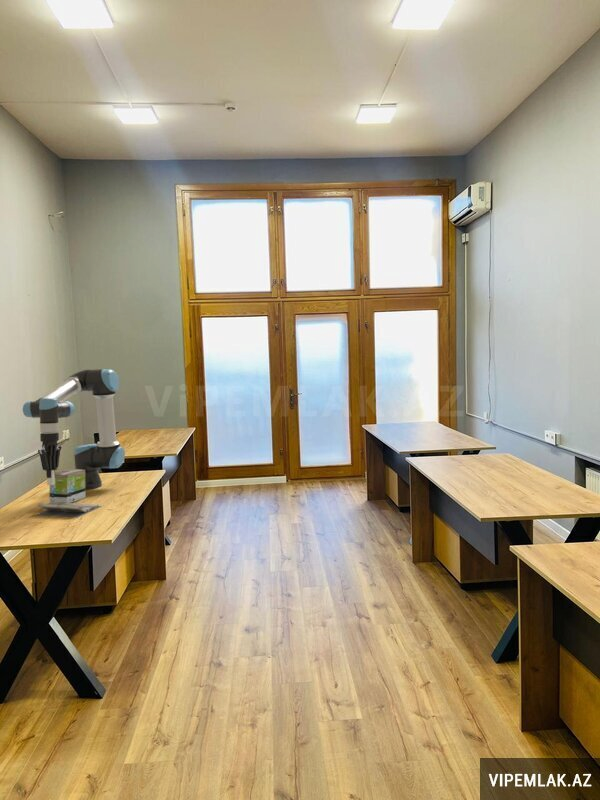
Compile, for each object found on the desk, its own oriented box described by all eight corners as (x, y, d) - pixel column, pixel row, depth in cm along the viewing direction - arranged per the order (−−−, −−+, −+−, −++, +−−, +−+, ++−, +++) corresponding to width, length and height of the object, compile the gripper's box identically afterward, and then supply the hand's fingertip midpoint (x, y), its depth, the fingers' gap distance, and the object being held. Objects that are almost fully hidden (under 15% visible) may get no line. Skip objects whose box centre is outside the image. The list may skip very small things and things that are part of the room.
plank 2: (67, 511, 242) (68, 508, 243) (86, 512, 240) (86, 509, 241) (57, 507, 235) (57, 504, 236) (76, 508, 233) (76, 505, 234)
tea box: (67, 505, 253) (66, 474, 253) (49, 504, 255) (48, 473, 255) (86, 497, 268) (85, 468, 267) (68, 497, 270) (67, 468, 269)
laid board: (61, 505, 253) (60, 502, 253) (98, 507, 249) (98, 504, 249) (49, 509, 246) (49, 507, 246) (88, 511, 241) (87, 509, 241)
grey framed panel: (62, 504, 256) (62, 503, 256) (102, 506, 251) (102, 506, 251) (34, 515, 237) (34, 515, 237) (77, 518, 232) (77, 517, 232)
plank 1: (48, 510, 245) (49, 507, 245) (66, 511, 243) (67, 508, 243) (37, 506, 237) (38, 503, 238) (56, 507, 235) (56, 504, 236)
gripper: (52, 430, 245) (53, 481, 246) (31, 433, 232) (33, 487, 233) (66, 431, 243) (67, 482, 244) (46, 434, 231) (48, 487, 232)
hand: (51, 484), depth 239 cm, fingers closed
